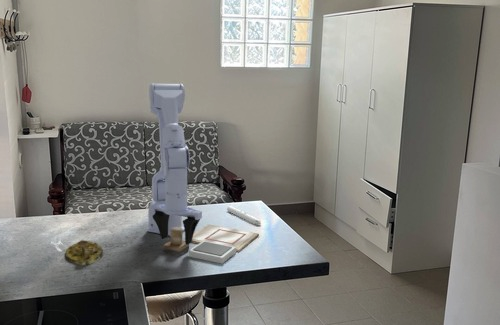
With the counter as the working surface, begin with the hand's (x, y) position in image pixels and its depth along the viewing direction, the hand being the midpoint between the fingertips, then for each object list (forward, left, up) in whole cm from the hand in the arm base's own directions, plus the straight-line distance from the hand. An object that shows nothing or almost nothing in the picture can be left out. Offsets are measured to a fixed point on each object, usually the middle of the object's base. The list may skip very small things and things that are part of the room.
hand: (176, 240), depth 132 cm
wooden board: (+7, +14, -3) cm, 16 cm away
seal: (-20, -13, -3) cm, 24 cm away
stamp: (0, 0, -3) cm, 3 cm away
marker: (+5, +34, -3) cm, 34 cm away
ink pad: (+10, +2, -3) cm, 11 cm away
